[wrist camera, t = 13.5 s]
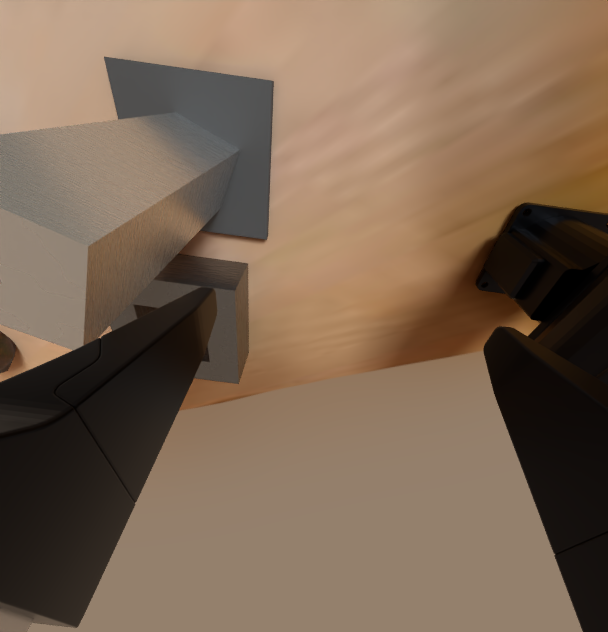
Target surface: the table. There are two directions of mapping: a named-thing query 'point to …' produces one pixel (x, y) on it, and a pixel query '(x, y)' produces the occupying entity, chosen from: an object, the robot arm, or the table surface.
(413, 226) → the table surface
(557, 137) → the table surface
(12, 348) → the bolt
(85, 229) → the steel peg
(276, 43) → the table surface
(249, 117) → the rubber mat
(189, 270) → the socket block
